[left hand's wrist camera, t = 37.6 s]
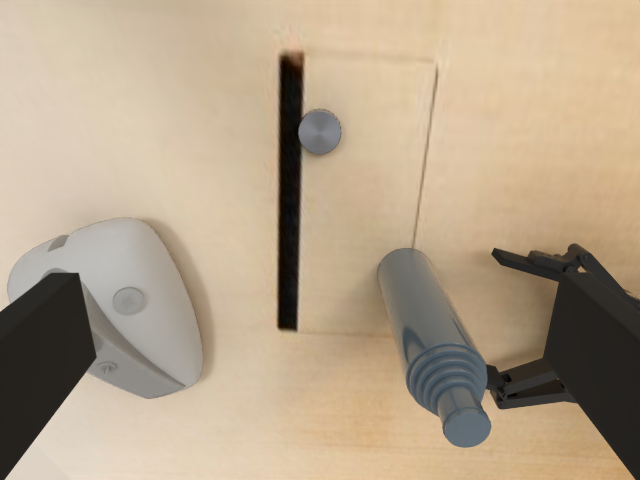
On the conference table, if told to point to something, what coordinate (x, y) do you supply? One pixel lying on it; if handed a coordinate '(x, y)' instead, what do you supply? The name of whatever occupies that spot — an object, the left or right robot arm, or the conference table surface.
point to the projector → (125, 304)
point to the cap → (319, 131)
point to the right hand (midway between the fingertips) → (469, 311)
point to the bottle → (434, 347)
